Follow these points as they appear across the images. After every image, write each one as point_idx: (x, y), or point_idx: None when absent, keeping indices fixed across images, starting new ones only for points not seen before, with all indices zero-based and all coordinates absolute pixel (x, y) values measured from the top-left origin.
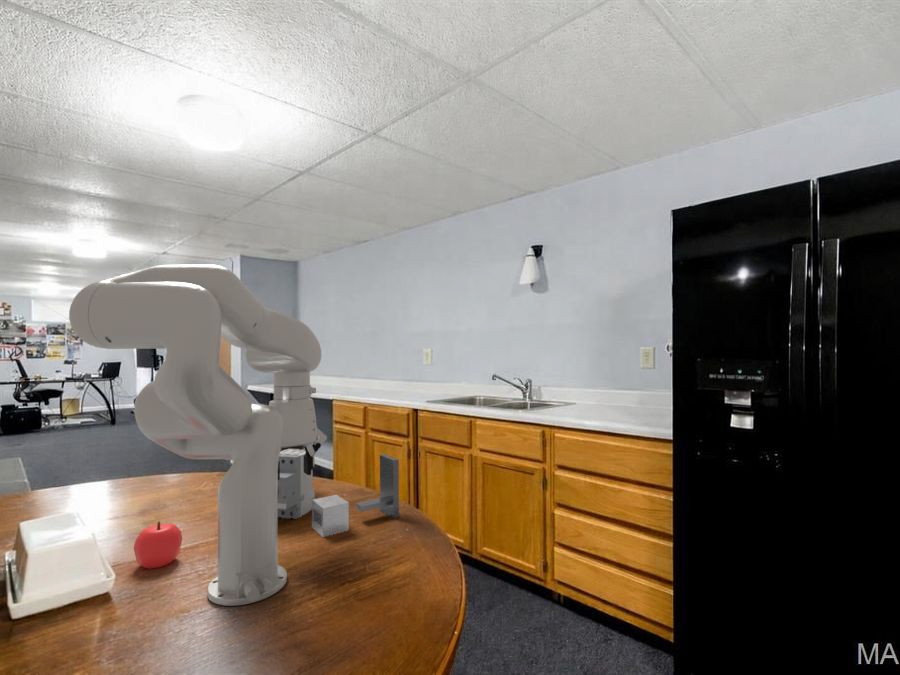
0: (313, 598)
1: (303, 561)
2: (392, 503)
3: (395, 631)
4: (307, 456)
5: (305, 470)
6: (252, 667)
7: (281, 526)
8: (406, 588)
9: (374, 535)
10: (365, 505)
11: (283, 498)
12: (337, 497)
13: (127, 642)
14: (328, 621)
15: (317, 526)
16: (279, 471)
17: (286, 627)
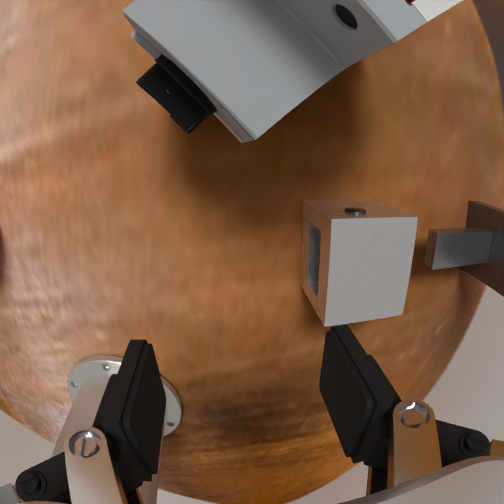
0: (208, 451)
1: (221, 372)
2: (480, 276)
3: (261, 493)
4: (359, 448)
5: (327, 369)
6: None
7: (225, 136)
8: (312, 463)
9: (388, 329)
10: (442, 266)
11: (235, 132)
12: (406, 249)
13: (28, 412)
14: (213, 476)
15: (306, 251)
16: (160, 432)
17: (171, 469)
